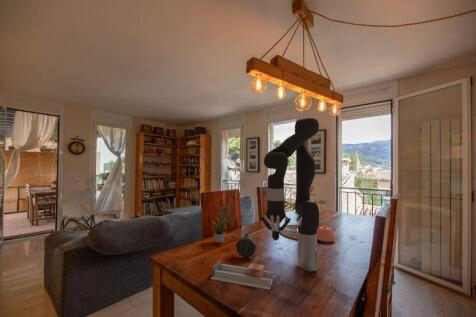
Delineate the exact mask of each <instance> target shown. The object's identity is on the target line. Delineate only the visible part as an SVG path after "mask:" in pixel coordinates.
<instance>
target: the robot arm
mask: <svg viewBox="0 0 476 317" xmlns="http://www.w3.org/2000/svg"><path fill="white" fill-rule="evenodd" d="M319 130H320V123H319V120H318V119H317V118H316V117H306V118H305V117H304V118H300V119H299V118H298V119H297V120H296V121H295V124H294V133H293V134H292V135H290V136H288V137H287V138H286V139H284V140H283V141H282V142H281V143H280V144H279V145H278V146H277V147H275V148H273V149H271V150H270V151H268V152H267V153H266V154H265V155H264V158H263V164H264V166H265V168H267V169H270V170H272V169H273V170H275V171H274V173H273V174H269V175H268V176H267V189H266V212H265V214H264V215H263V216H261V217H260V220H261V221H262V223H263V225H265V226H266V228H267V230H270V231H271V238H272V239H273V241H278V240H279V239H280V232H281V231H284V230H285V228H286V227H287V226H288V224H290V222H291V218H290V217H288V216H287V215H286V214H287V213H286V209H285V208H286V207H285V206H286V205H285V204H286V203H285V201H286V200H285V198H286V197H285V196H286V194H285V177H286V175H287V174H286V173H287V169H288V165H289V158H291V156H292V155H294V153H296V161H295V162H296V167H295V168H296V193H295V194H296V195H295V208H294V209H295V213H296V215H298V217H300V218H301V224H300V225H298V226H297V267H299V268H301V269H304V271H305V272H318V239H317V230H318V228H319V225H320V208H319V206H318V204H317V203H316V202H315V201H311V198H310V196H311V194H310V193H311V192H310V191H311V188H312V185H313V182H314V179H315V176H316V161H315V158H314V156H313V155H312V153H311V152H310V150H309V149H308V146H307V141H308V140H310V139H311V138H312V137H314V136H316V135H317V133H319ZM268 220H269V221H268ZM283 221H284V223H283V224H282V225H281V223H282V222H283Z"/></svg>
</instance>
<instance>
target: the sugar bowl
mask: <svg viewBox="0 0 476 317" xmlns="http://www.w3.org/2000/svg"><path fill="white" fill-rule="evenodd" d="M334 240H336V237H335V234H334V231H333V229H332V228H330V227H329V226H327V225H325V224H324V225H322V226H320V227H318V230H317V241H320V242H321V243H332V242H334Z"/></svg>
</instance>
